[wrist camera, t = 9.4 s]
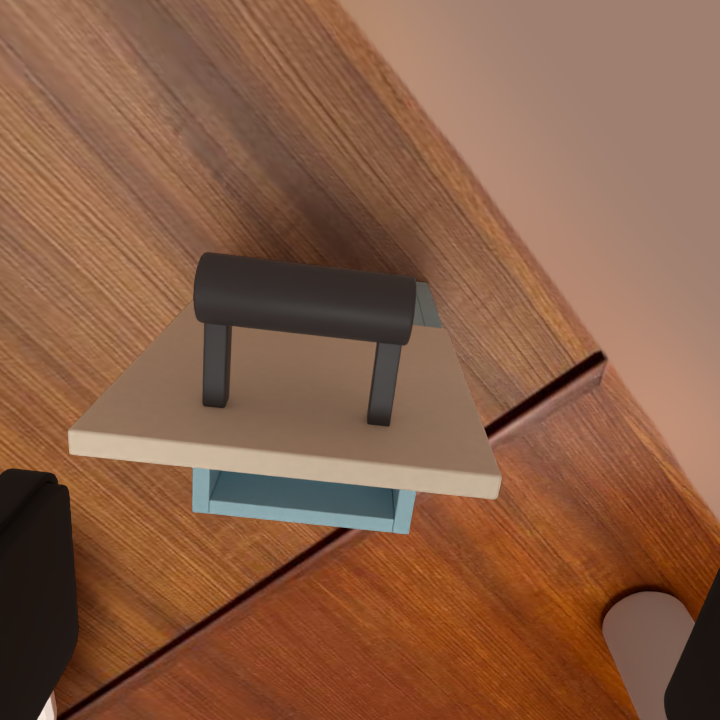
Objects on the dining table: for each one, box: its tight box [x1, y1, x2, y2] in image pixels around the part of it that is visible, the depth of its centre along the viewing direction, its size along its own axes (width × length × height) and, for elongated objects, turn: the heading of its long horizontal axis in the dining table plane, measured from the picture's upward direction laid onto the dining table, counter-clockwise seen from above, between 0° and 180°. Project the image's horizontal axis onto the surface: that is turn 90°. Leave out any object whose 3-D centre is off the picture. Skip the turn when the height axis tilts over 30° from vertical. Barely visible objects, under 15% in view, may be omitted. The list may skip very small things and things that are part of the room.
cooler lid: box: [68, 252, 502, 499], centre depth 22 cm, size 13×12×5 cm
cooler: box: [192, 282, 443, 534], centre depth 35 cm, size 12×12×9 cm
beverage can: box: [602, 591, 695, 720], centre depth 42 cm, size 6×6×12 cm
